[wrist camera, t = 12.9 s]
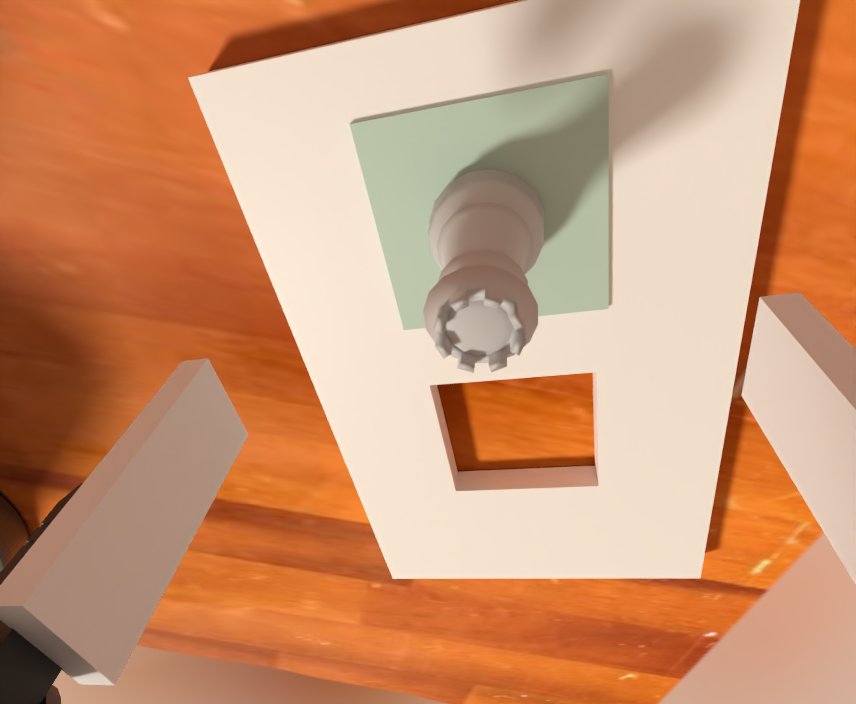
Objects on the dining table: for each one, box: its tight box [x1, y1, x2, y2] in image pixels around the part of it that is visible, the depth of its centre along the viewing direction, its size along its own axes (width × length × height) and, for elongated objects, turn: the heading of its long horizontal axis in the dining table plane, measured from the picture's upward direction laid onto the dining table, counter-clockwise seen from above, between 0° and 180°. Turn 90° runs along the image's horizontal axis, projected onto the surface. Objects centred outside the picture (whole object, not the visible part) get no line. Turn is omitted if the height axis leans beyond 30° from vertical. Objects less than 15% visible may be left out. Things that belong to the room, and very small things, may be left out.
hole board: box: [188, 0, 800, 579], centre depth 26 cm, size 20×32×2 cm, turn 11°
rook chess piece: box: [423, 169, 545, 373], centre depth 17 cm, size 4×4×8 cm
